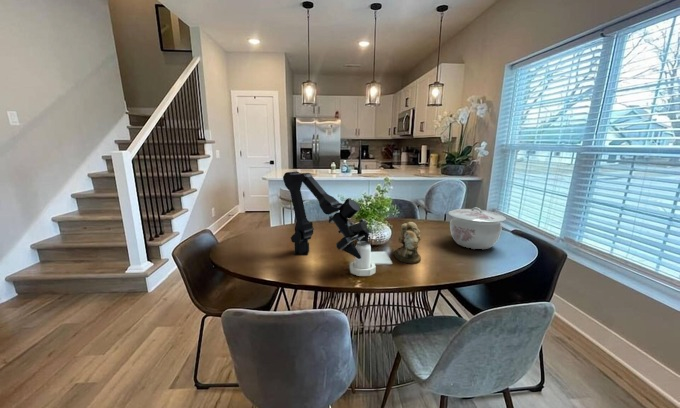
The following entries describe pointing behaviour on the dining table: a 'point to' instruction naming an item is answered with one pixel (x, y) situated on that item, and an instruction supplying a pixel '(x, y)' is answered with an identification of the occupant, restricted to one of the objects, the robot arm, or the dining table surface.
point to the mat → (380, 258)
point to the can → (363, 255)
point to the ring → (362, 270)
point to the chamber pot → (475, 227)
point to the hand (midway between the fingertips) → (365, 255)
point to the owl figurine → (408, 244)
